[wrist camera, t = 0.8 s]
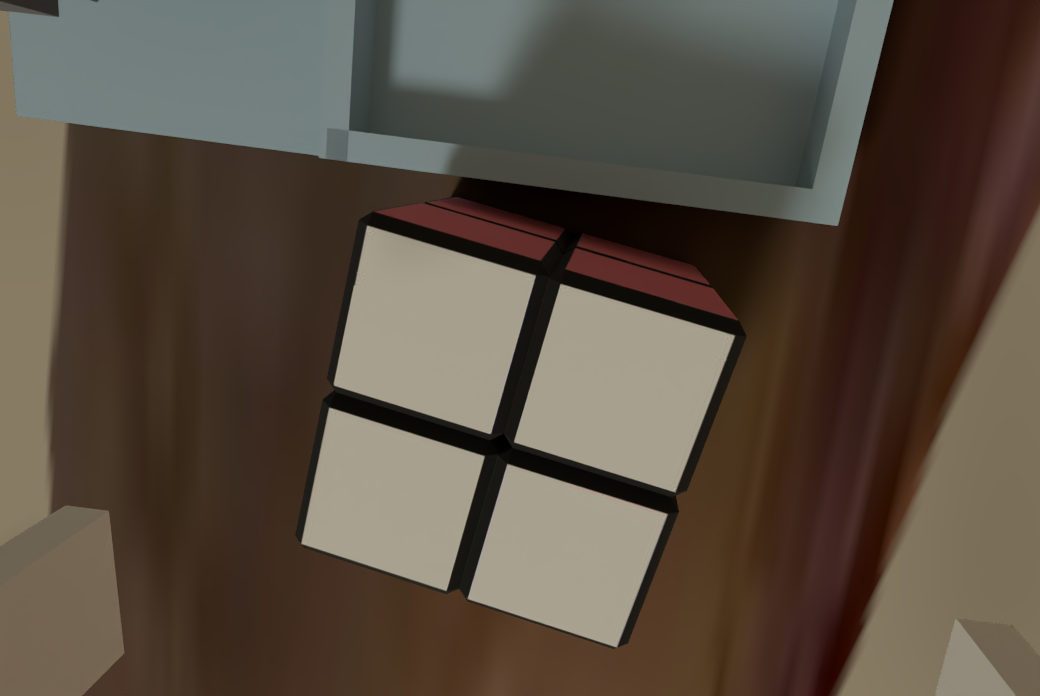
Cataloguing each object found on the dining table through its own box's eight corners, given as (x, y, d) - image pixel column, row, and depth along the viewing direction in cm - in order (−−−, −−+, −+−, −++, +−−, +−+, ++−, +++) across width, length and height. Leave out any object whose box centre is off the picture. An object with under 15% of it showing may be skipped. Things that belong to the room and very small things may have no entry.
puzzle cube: (450, 193, 26) (355, 208, 17) (702, 266, 26) (755, 325, 16) (395, 424, 29) (288, 551, 19) (621, 494, 28) (626, 661, 19)
